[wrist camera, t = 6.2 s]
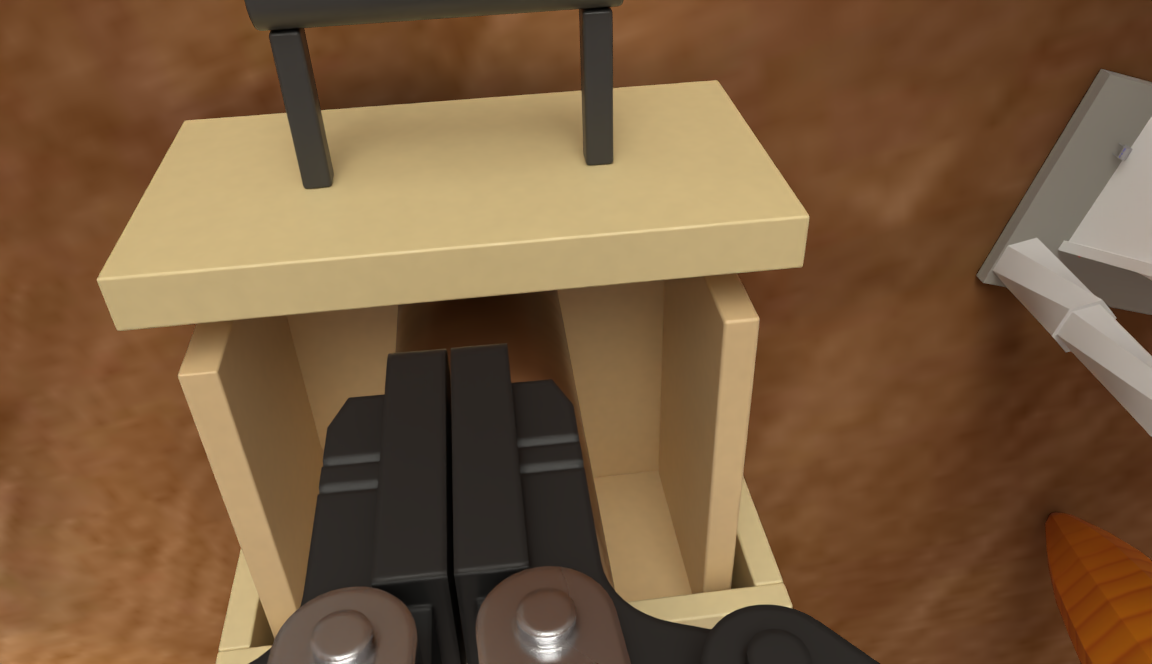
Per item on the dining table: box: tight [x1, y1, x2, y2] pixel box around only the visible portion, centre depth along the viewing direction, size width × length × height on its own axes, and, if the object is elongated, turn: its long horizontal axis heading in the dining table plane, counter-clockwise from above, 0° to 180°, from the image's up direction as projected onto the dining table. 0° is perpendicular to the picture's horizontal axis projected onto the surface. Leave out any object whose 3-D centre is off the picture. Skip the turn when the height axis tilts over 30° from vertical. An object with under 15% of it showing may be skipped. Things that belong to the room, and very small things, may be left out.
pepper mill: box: [395, 290, 615, 590], centre depth 20 cm, size 4×4×13 cm
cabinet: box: [216, 477, 792, 664], centre depth 31 cm, size 15×15×9 cm
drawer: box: [97, 0, 809, 639], centre depth 23 cm, size 18×13×7 cm
